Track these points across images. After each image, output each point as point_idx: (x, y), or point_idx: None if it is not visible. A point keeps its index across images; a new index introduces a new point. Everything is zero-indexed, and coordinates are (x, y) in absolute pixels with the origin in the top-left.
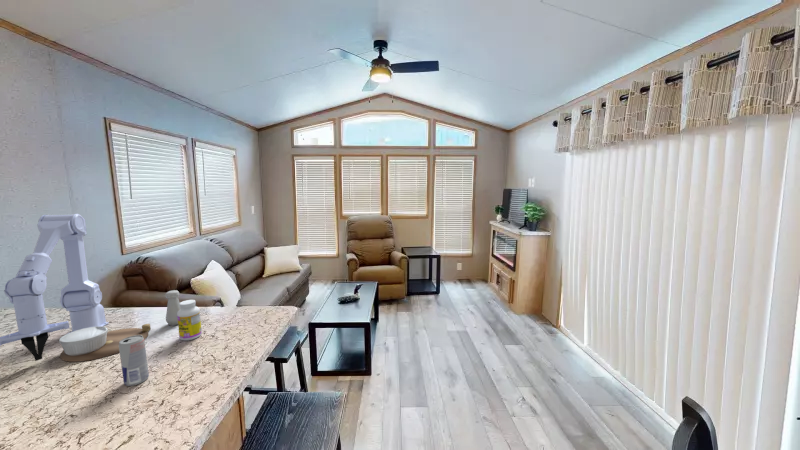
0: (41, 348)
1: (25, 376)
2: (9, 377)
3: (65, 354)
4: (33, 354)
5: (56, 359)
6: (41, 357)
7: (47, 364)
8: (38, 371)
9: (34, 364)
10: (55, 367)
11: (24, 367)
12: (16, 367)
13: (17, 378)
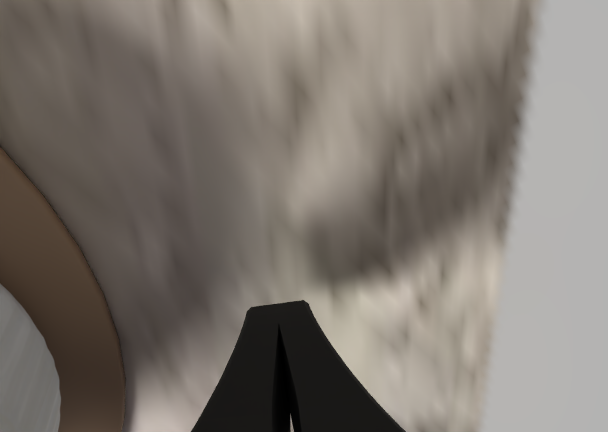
0: (224, 419)
1: (384, 35)
2: (498, 152)
3: (66, 348)
4: (329, 354)
5: (144, 302)
6: (250, 317)
7: (208, 229)
8: (272, 82)
9: (316, 318)
10: (103, 48)
11: (384, 308)
12: (432, 353)
13: (449, 46)
